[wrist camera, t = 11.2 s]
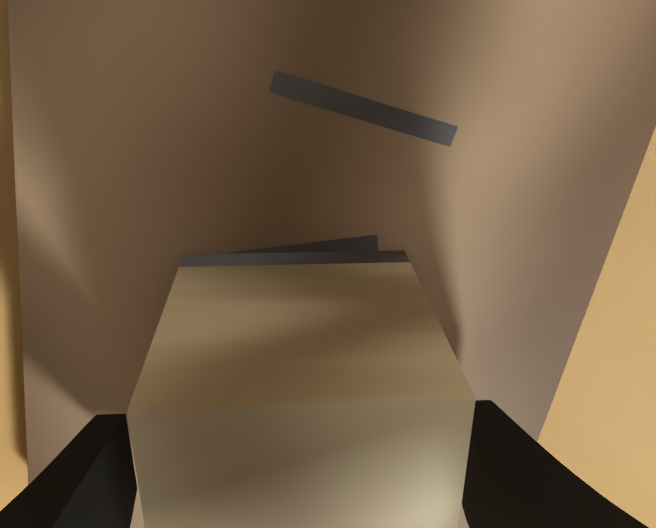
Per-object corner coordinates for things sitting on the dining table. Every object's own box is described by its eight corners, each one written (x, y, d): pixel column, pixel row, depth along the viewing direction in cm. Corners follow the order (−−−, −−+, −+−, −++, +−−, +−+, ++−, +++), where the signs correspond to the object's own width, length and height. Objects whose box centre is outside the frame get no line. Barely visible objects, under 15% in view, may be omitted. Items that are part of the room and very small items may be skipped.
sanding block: (404, 250, 13) (476, 398, 8) (385, 533, 16) (428, 751, 11) (182, 254, 12) (127, 411, 8) (210, 542, 15) (182, 771, 11)
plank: (877, -607, 9) (962, -691, 8) (482, 515, 18) (496, 550, 16) (7, -917, 7) (-42, -1081, 6) (47, 487, 16) (29, 523, 15)
